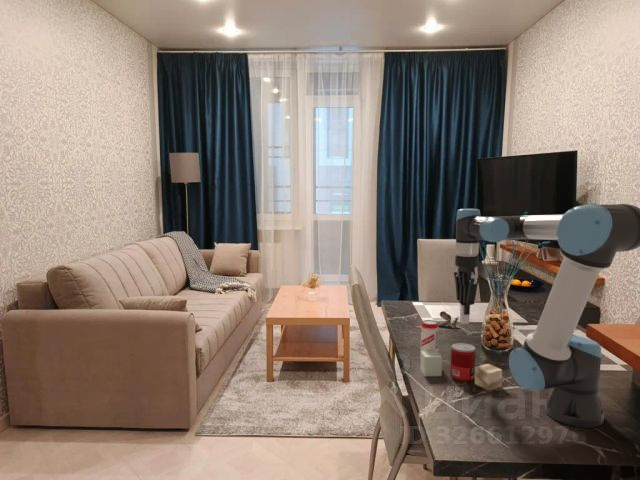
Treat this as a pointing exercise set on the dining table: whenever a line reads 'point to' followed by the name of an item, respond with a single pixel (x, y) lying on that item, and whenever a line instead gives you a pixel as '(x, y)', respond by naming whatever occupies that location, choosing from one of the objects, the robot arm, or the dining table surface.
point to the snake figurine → (448, 318)
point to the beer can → (429, 336)
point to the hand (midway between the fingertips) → (464, 322)
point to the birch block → (488, 377)
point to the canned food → (462, 362)
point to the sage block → (431, 363)
